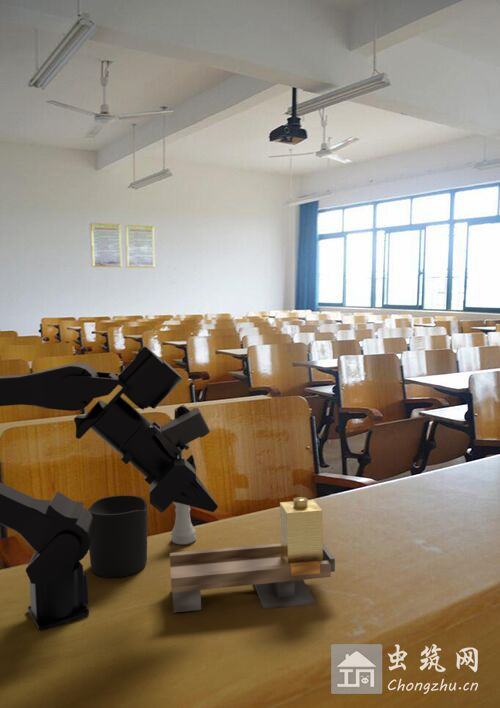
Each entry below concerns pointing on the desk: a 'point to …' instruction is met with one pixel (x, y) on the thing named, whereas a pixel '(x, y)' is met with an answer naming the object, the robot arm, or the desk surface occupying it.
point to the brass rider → (301, 531)
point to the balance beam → (245, 575)
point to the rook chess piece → (183, 526)
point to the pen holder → (118, 536)
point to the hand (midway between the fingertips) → (215, 508)
